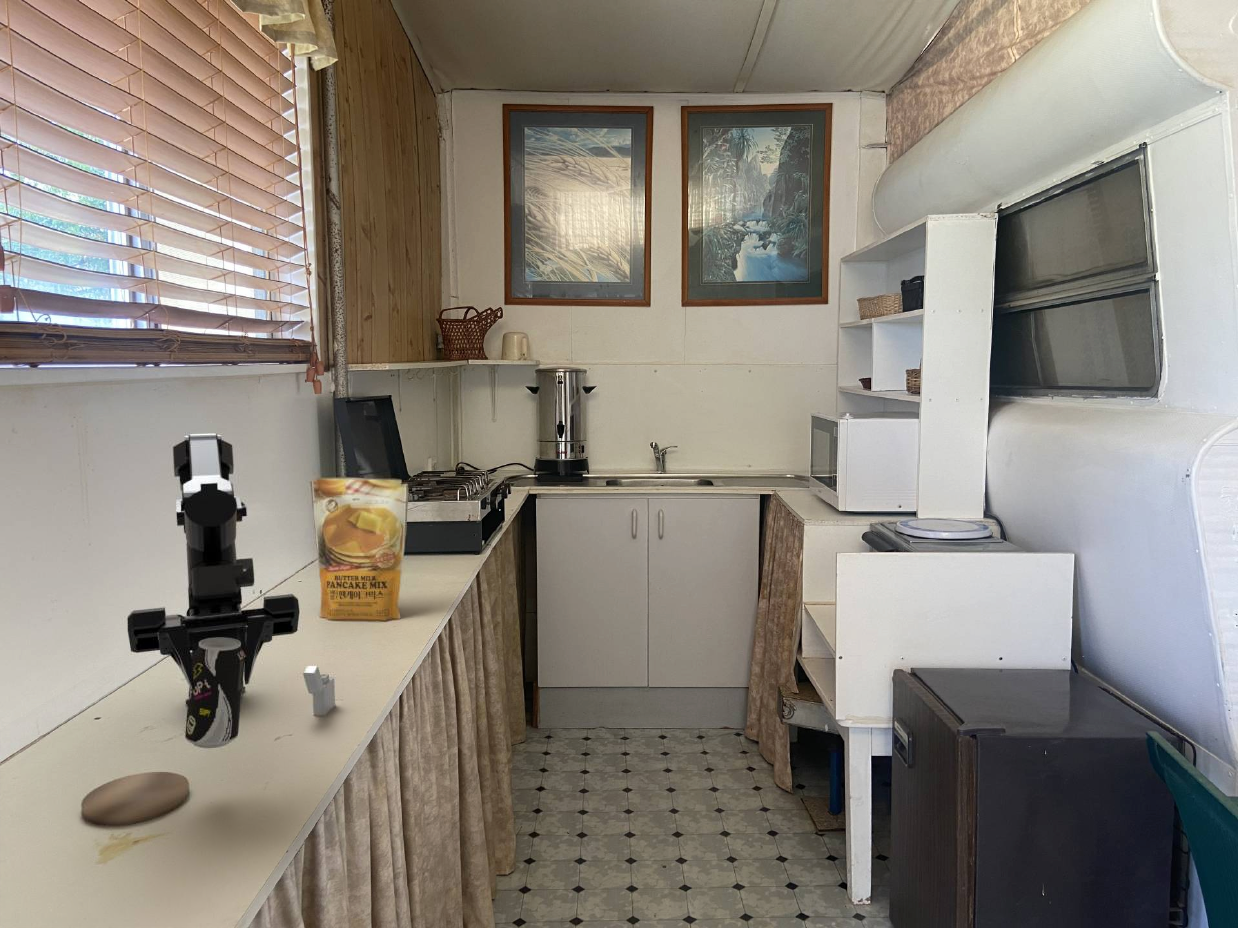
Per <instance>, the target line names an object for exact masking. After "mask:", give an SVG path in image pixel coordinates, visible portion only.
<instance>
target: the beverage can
mask: <svg viewBox="0 0 1238 928" xmlns="http://www.w3.org/2000/svg"><path fill="white" fill-rule="evenodd" d="M240 646H241V642H240V641H239V640H236V639H232V638H224V637H217V638H208V639H204V640H201V641H200V642H199V647H198V648H197V650H196V651H195V652H194V653H193V655H192V662H191V667H192V677H193V682H194V685H195V689H194V690H193V691H192V689H191V687H190V686H189V685H188V686H189V688H188V698H187V699H188V704H187V709H186V710H187V711H186V719H185V722H186V723H185V732H184V739H186V741H187V742H188V743H190V744H192V745H193V746H195V747H198V748H202V749H215V748H222V747H224V746H226V745H229V744H230V743H231V742H233V741H235V740H236V739H237V738H238V736H239V728H240V717H241V716H240V715H241V708H242V707H241V706H242V705H241V704H242V698H243V697H242V695H243V692H242V686H244V664H245V654H244V652H243V651H242V649H241V647H240Z"/></svg>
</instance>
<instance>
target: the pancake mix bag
mask: <svg viewBox="0 0 1238 928" xmlns="http://www.w3.org/2000/svg"><path fill="white" fill-rule="evenodd" d="M309 483H310V491H311V504H312V505H311V506H312V511H313V523H314V524H313V526H314V537H315V538H314V539H315V545H316V552H317V557H318V558H317V560H318V571H319V580H320V588H321V589H320V591H321V593H320V595H321V596H320V609H319V618H324V619H327V620H328V621H344V622H371V621H379V622H380V621H381V622H388V621H392V620H397V619H401V614H400V608H399V605H398V604H399V599H400V591H401V584H402V573H403V566H404V565H403V563H404V556H405V547H406V536H407V526H408V523H407V521H408V507H409V506H408V504H409V498H410V497H409V495H410V492H409V491H410V490H409V484H408V483H403V480H402V479H401V478H364V477H317V478H316V479H313V480H311V481H309ZM381 622H380V623H381Z"/></svg>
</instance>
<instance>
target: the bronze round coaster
mask: <svg viewBox="0 0 1238 928" xmlns="http://www.w3.org/2000/svg"><path fill="white" fill-rule="evenodd" d="M189 794H190V782H189V779H187V777H185V776H183V775H182V774H178V773H174V772H171V771H169V772H168V771H153V772H152V771H151V772H143V773H142V772H141V773H136V774H132V775H127V776H124V777H120V778H115V779H113V780H111V781H108V782H106V783H103V784H101V785H99V786H97V787H95V788H94V789H93V790H91V791H90V792H89V793H87V794H86V796H84V798H83V799H82V800H81V815H82V818H83V819H84V820H85V821H87V822H88V823H90V824H93V825H97V826H108V827H109V826H112V827H113V826H124V825H125V826H126V825H132V824H137V823H138V824H139V823H141V822H146V821H149V820H152V819H154V818H158V817H161V816H163V815H166V814H168V813H169V812H172V811H174V810H175V809H176V808H179V807H180V806H181V805H182V804H183V803H185V802H186V800H187V799H188V797H189V796H190V795H189Z"/></svg>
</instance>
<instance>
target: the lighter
mask: <svg viewBox="0 0 1238 928" xmlns="http://www.w3.org/2000/svg"><path fill="white" fill-rule="evenodd" d="M302 674H303V678H304V682H305V686H306V688H307V692H308V694H310V695H312V709H313V712H312V713H313V716H319V717H321V716H322V717H323V716H324V717H325V716H326V715H327V714H329V712H330V711H331V710H332V709H334V707H335V706H336V693H335V691H336V690H335V688H336V687H335V686H336V685H335V677H331V676H330V674H329V673H321V672H320V668H319V667H318V666H317V665H306V666H305V668H304V670H303V673H302Z"/></svg>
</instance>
